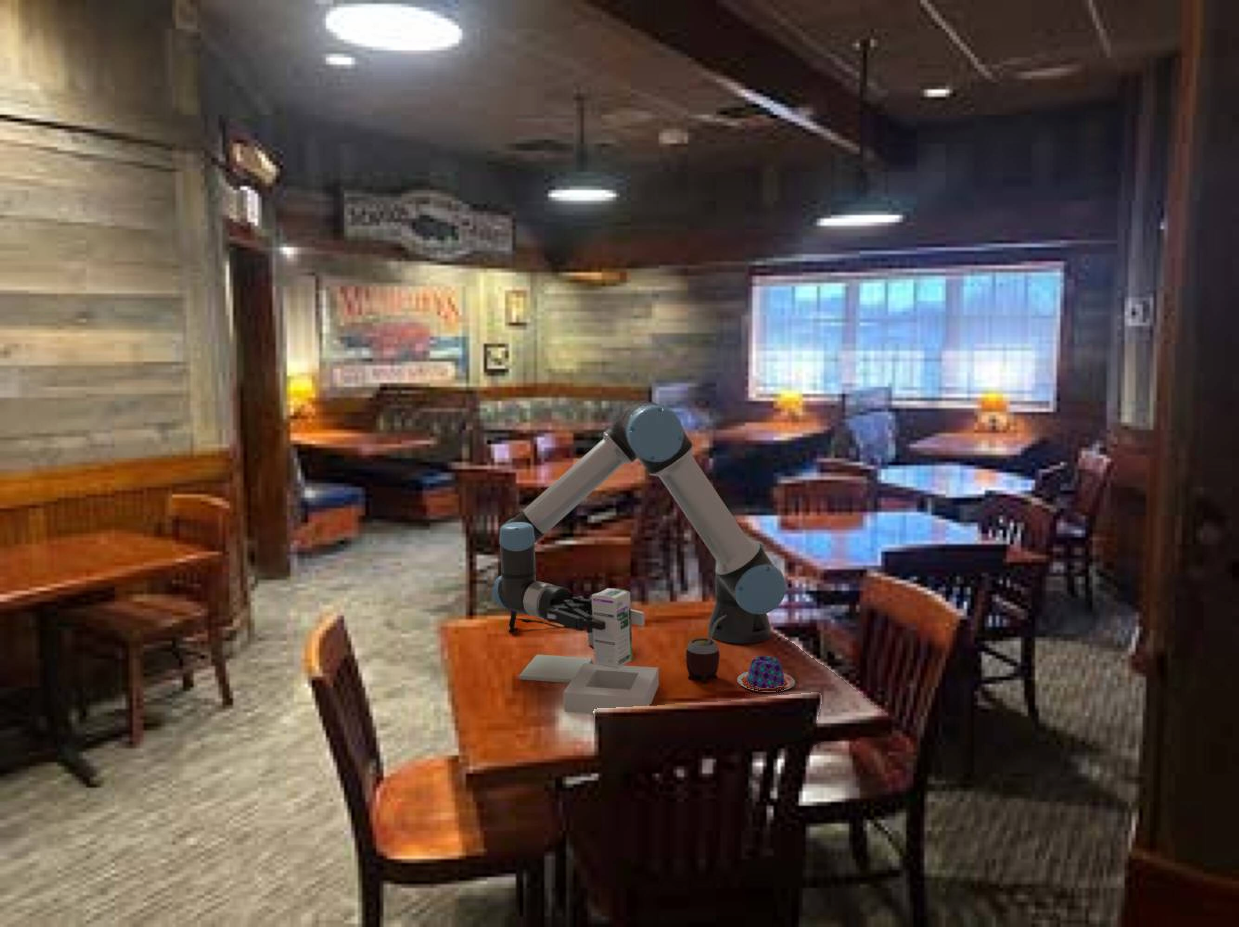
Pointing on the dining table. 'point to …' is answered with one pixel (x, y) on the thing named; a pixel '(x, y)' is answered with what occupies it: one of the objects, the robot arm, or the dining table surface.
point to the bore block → (610, 688)
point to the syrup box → (611, 646)
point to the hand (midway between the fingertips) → (631, 623)
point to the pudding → (765, 673)
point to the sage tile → (553, 668)
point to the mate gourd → (703, 657)
